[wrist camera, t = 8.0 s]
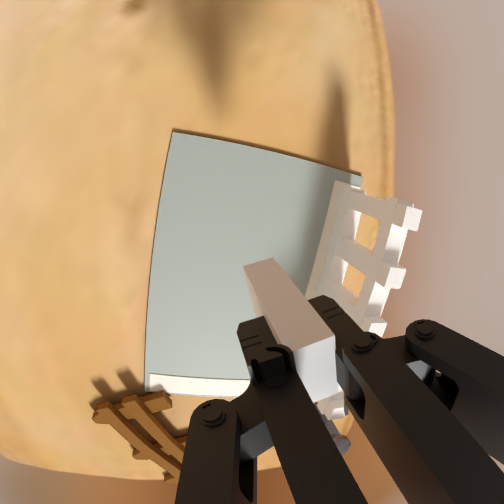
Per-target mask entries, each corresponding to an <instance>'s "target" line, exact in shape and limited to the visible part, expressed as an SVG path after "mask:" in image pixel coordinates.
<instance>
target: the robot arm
mask: <svg viewBox="0 0 504 504" xmlns="http://www.w3.org/2000/svg"><path fill="white" fill-rule="evenodd" d="M243 269H244V273H245V277H246V281H247V285H248V288H249V292H250V296H251V300H252V304H253V307H254V311H255V314H256V317H257V318H254V319H251V320H248V321H245V322H241V323H239V325H238V329H237V332H236V333H237V336H238V339H239V342H240V345H241V349H242V352H243V355H244V358H245V361H246V364H247V369H248V372H249V375H250V384H249V386H248V388H247V389H246V391H245V392H244V393H243V394H241V395H240V396H239V397H237V398H236V399H234V400H232V401H230V402H228V401H226V400H223V399H213V400H209V401H206V402H204V403H202V404H200V405H199V406H198V407H197V408H196V409H195V410H194V411H193V414H192V416H191V419H190V424H189V429H188V434H187V439H186V444H185V450H184V455H183V460H182V466H181V471H180V476H179V482H178V488H177V493H176V499H175V504H257V456H258V455H260V454H262V453H263V452H265V451H266V450H268V449H270V448H271V447H273V446H274V447H275V450H276V452H277V455H278V458H279V460H280V463H281V466H282V469H283V471H284V474H285V476H286V479H287V482H288V484H289V487H290V490H291V492H292V495H293V497H294V500H295V502H296V504H368V503H367V501H366V499H365V497H364V495H363V494H362V492H361V490H360V488H359V486H358V484H357V483H356V481H355V479H354V477H353V475H352V474H351V472H350V470H349V468H348V466H347V464H346V463H345V461H344V459H343V457H342V455H341V453H340V452H339V450H338V448H337V446H336V444H335V442H334V441H333V439H332V437H331V435H330V433H329V431H328V429H327V428H326V426H325V424H324V422H323V420H322V418H321V416H320V414H319V413H318V411H317V409H316V407H315V405H314V402H317V401H319V400H322V399H324V398H327V397H329V396H332V395H334V394H337V393H338V384H339V385H340V387H341V388H342V390H343V391H344V412H345V416H346V415H348V408H349V410H350V412H351V413H352V415H353V416H354V418H355V419H356V421H357V423H358V424H359V426H360V427H361V429H362V431H363V432H364V434H365V435H366V437H367V439H368V440H369V442H370V443H371V445H372V446H373V448H374V450H375V451H376V453H377V454H378V456H379V458H380V459H381V461H382V462H383V464H384V466H385V467H386V469H387V470H388V472H389V473H390V475H391V477H392V478H393V480H394V481H395V483H396V484H397V486H398V488H399V489H400V491H401V493H402V494H403V495H404V497H405V499H406V500H407V502H408V504H504V473H503V472H502V471H501V469H500V468H499V467H498V466H497V464H496V463H495V462H494V461H493V460H492V459H491V458H490V456H492V457H493V458H495V459H496V460H498V461H499V462H501V463H502V464H504V356H502V355H500V354H498V353H496V352H494V351H492V350H490V349H488V348H486V347H484V346H482V345H480V344H479V343H477V342H475V341H473V340H471V339H469V338H467V337H465V336H463V335H461V334H459V333H457V332H455V331H453V330H451V329H449V328H447V327H445V326H443V325H441V324H439V323H437V322H435V321H431V320H424V319H423V320H417V321H414V322H413V323H411V324H410V325H409V326H408V327H407V328H406V334H405V335H404V336H398V337H393V338H387V339H382V338H381V337H380V336H378V335H377V334H376V333H372V332H368V331H365V332H364V331H363V330H362V329H361V328H360V327H359V326H358V325H357V324H356V323H355V322H354V320H353V319H352V318H351V317H350V316H349V315H348V314H347V313H345V311H344V310H343V309H342V308H341V307H340V306H339V304H338V303H337V302H336V301H335V300H334V299H332V298H330V297H328V296H325V295H321V296H318V297H315V298H312V299H309V300H307V299H306V298H305V297H304V295H303V294H302V293H301V292H300V290H299V289H298V288H297V287H296V285H295V284H294V283H293V282H292V280H291V279H290V278H289V277H288V275H287V274H286V273H285V272H284V270H283V269H282V268H281V267H280V265H279V264H278V263H277V261H276V260H275V259H274V258H273V257H272V258H268V259H265V260H262V261H258V262H255V263H252V264H248V265H245V266H243ZM436 370H438V371H439V372H441V373H437V372H436ZM488 454H489V455H490V456H489V455H488Z"/></svg>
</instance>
